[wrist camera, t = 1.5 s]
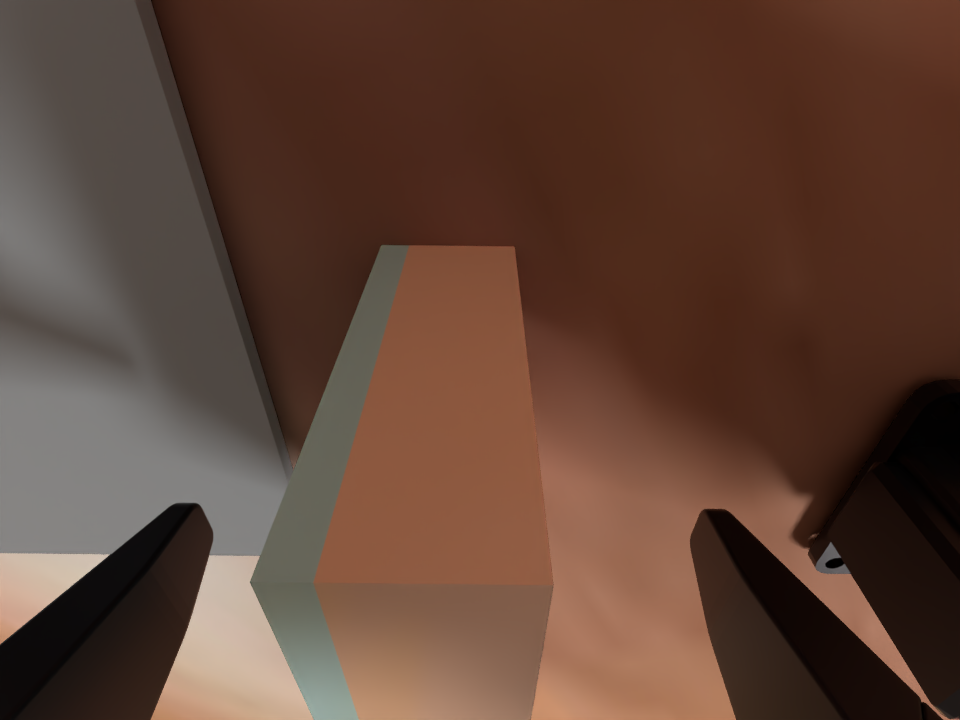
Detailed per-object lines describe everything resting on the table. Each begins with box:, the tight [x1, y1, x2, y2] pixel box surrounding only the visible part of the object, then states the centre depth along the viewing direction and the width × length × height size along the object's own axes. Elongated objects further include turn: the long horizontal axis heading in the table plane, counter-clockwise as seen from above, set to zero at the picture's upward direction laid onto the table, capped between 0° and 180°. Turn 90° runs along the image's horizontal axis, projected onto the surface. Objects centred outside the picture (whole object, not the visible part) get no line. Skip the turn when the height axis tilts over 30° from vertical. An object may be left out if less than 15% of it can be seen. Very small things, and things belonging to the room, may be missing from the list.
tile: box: [250, 245, 554, 720], centre depth 9 cm, size 2×8×6 cm, turn 0°
